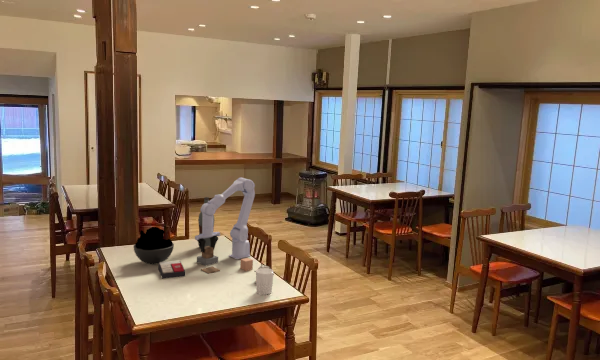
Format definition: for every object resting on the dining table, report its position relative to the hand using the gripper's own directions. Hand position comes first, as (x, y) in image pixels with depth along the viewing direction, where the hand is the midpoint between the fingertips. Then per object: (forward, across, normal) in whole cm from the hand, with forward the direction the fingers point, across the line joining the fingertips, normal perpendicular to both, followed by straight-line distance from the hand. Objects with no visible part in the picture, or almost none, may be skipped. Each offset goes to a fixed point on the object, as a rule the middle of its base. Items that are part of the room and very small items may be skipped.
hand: (207, 250), depth 251 cm
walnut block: (+3, 0, 0) cm, 3 cm away
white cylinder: (+6, +3, +51) cm, 51 cm away
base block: (+7, 0, 0) cm, 7 cm away
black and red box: (+7, +23, +3) cm, 24 cm away
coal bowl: (+6, +23, -15) cm, 28 cm away
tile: (+6, +6, +12) cm, 15 cm away
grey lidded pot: (+6, -6, +40) cm, 41 cm away
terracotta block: (+6, -10, +21) cm, 24 cm away
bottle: (+6, -14, -23) cm, 28 cm away
